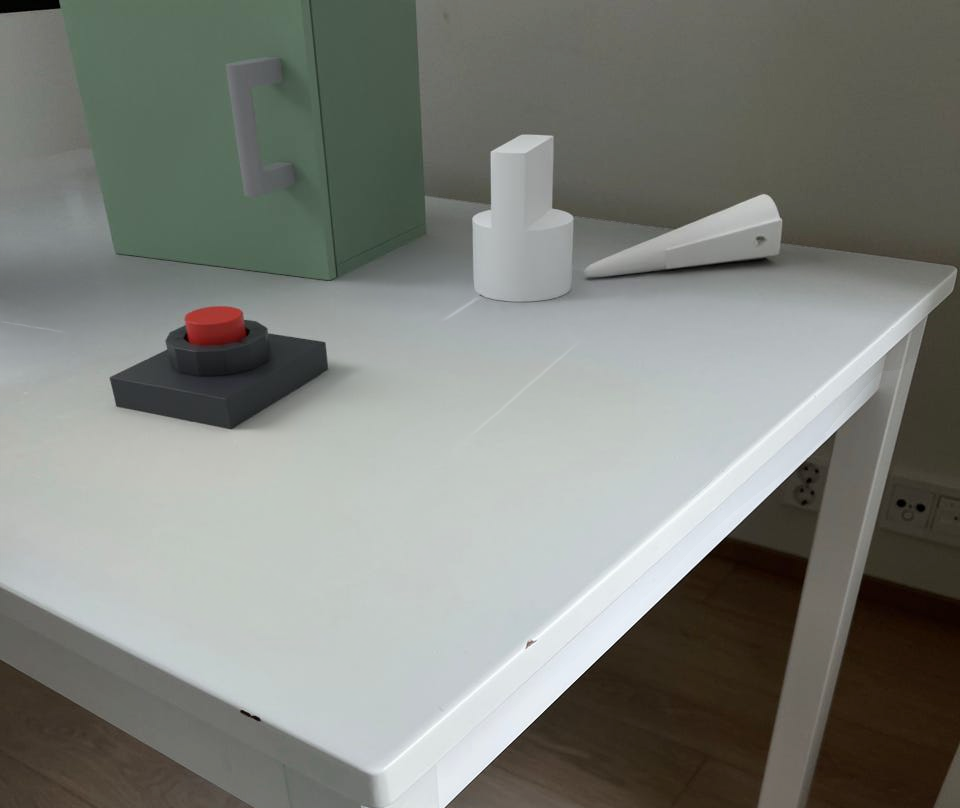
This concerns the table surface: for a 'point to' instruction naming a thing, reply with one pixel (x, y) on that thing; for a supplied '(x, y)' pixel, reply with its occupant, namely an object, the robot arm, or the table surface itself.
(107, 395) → the table surface
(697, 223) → the white tapered wedge
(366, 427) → the table surface
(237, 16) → the door
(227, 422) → the button box
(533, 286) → the cylinder with rectangular tab
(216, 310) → the button
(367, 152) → the cupboard
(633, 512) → the table surface
